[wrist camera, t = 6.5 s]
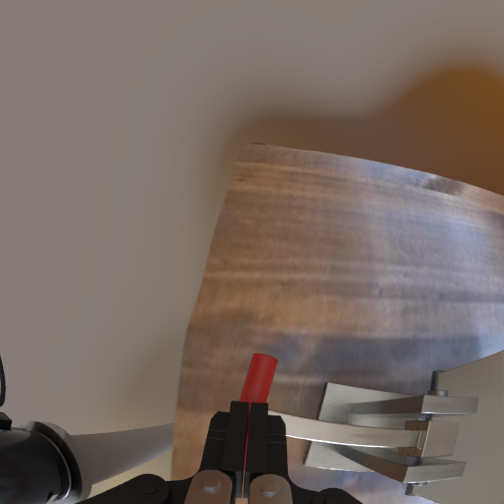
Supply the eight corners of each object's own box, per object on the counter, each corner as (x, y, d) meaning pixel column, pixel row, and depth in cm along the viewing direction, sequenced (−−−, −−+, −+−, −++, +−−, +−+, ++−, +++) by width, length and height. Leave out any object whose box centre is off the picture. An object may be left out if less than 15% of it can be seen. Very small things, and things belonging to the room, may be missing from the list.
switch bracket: (302, 463, 20) (345, 508, 9) (325, 382, 24) (384, 360, 13) (398, 470, 18) (484, 492, 7) (416, 396, 22) (507, 374, 11)
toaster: (404, 494, 17) (498, 525, 5) (433, 371, 23) (533, 330, 11) (463, 486, 16) (554, 495, 3) (485, 376, 22) (576, 339, 10)
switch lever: (216, 461, 11) (217, 474, 9) (250, 356, 14) (257, 349, 12) (420, 479, 11) (444, 484, 9) (440, 394, 14) (465, 390, 12)
